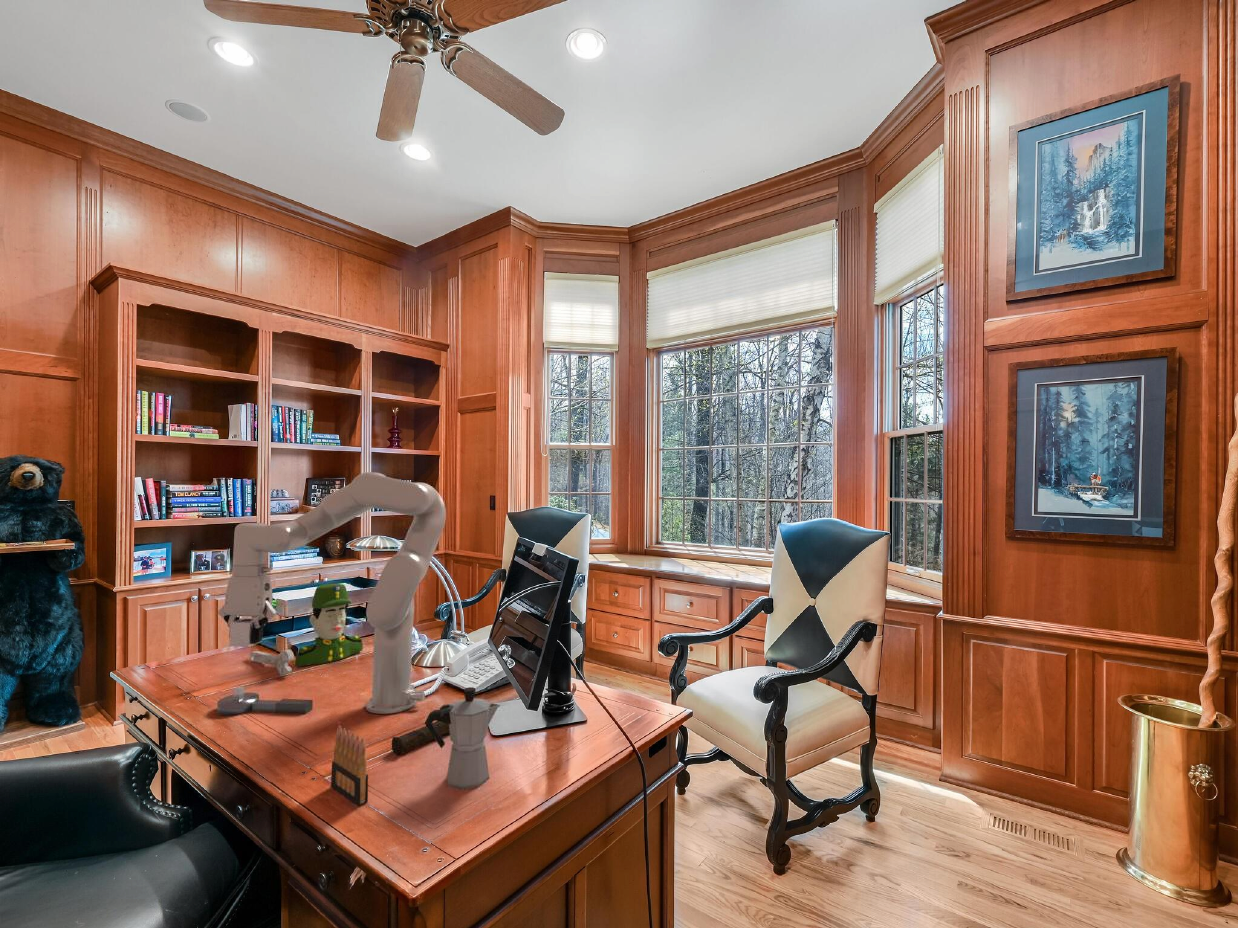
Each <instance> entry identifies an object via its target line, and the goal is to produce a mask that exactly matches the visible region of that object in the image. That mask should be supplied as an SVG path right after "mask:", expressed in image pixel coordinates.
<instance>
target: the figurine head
mask: <svg viewBox="0 0 1238 928" xmlns="http://www.w3.org/2000/svg"><path fill="white" fill-rule="evenodd" d="M350 604H352V601H351V600H349V594H348V590H347V588H346V585H345V584H343V583H327V584H326V583H325V584H320V585H318V586H317V587H316V588H315V591H314V595H313V599H312V602H311V608H312V614H311V616H309V623H310V624H311V626H312V627H313V630H314V631H315V633H316V634H318V637H314V639H315V640H314V641H315V643H313V644H309V645H305V646H302V647H300V648H299V649H298V651H297V654H296V657H295V663H294V666H297V667H302V666H309V665H313V664H314V665H317V664H326V663H330V662H334V661H339V660H343V659H346V658H348V657H349V656H352V655H356V654H358V653H360V652H362V651H363V648H364V646H363V645H364V643H363V640H362V638H361V636H359V635H351V636H346V635H345V633H344V629H345V625H346V619H347V613H348V607H349V605H350Z"/></svg>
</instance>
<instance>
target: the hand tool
mask: <svg viewBox="0 0 1238 928" xmlns="http://www.w3.org/2000/svg"><path fill="white" fill-rule="evenodd" d="M432 724H433V726H434V727H435V729H436V730H437V732H438V733H439V735H440V736H441V737H442V736H443V735H445V734H446V736H450V735H449V734H450V731H449V724H447V723H443V722H439V721H433V722H432ZM432 740H435V738H434V737H433V735H432V734H431V732H430V731H429V729H428V728H427V726H426V725H425V726H422V727H420V728H418V729H417V728H416V730H415V729H414V730H412V731H409V732H408V733H404V734H403V735H399V736H393V737H392V739H391V750H392V753H393V754H395V755H396V756H402V755H403V754H404V753H405V754H407V753H408V752H409V750H411V749H413V748H416V747H418V746H420V745H422V744H425V743H428V742H430V741H432Z"/></svg>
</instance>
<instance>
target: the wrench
mask: <svg viewBox="0 0 1238 928" xmlns="http://www.w3.org/2000/svg"><path fill="white" fill-rule="evenodd" d="M249 655H250V656H249V658H250V661H252V662H254V663H259V664H264V665H269V666H273V667H275V668H276V670H277V672H278V673H279V676H280V677H283V676H287V675H290V674H291V673H292V668H291V666H289V662H292V661H295V655H294V652H293V651H292V649H285V650H284V649H283V650H282V651H281V652H280V653H279V654H277V655H276V654H274V653H268V652H265V651H264V652H263V651H259V650H256V651H252V652H250V654H249Z"/></svg>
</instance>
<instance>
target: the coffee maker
mask: <svg viewBox="0 0 1238 928" xmlns="http://www.w3.org/2000/svg"><path fill="white" fill-rule="evenodd" d="M463 694H464V699H460V700H458V701H454V702H452V703H450V704H449V703H447V704H443V705H442V706H440V708H439V709H435V710H432V711H431V712H429V714H428V715H427V717H426V720H425V722H424V725H425V726H427V728H428V729H429V731H430V732H431V734H432V735H433V737H434V740H435V741H436V743H437V745H438V746H439V748H440V749H443V747H444V746H445V745H446V742H445V740H444V739H443V738H442V735H441V736H440V735H439V733H438V732H437V730H436V729H435V727H434V726H433V724H432V723H434V722H436V721H439V722H443V723H447V724H449V731H450V735H449V738H450V740H449V741H451V742H452V745H451V749H450V755H449V761H448V766H447V773H446V783H447V786H448V787H450V788H455V789H458V790H467V789H472V788H473V789H474V788H477V787H478V786H479V787H481V785H483V784H485V783H486V782H487V781H488V780H490V773H489V765H488V759H487V758H488V756H487V749H486V744H485V738H486V736H488V730H489V725H490V723H491V721H492V719H493V717H494V716H495V713H496V712H497V711H498V710H497V709H498V708H500V707H501V704H496V703H492V702H489V701H487V700H485V699H484V698H475V694H476V688H475V687H471V686H469V687H466V688H464V690H463ZM479 787H478V788H479Z"/></svg>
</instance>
